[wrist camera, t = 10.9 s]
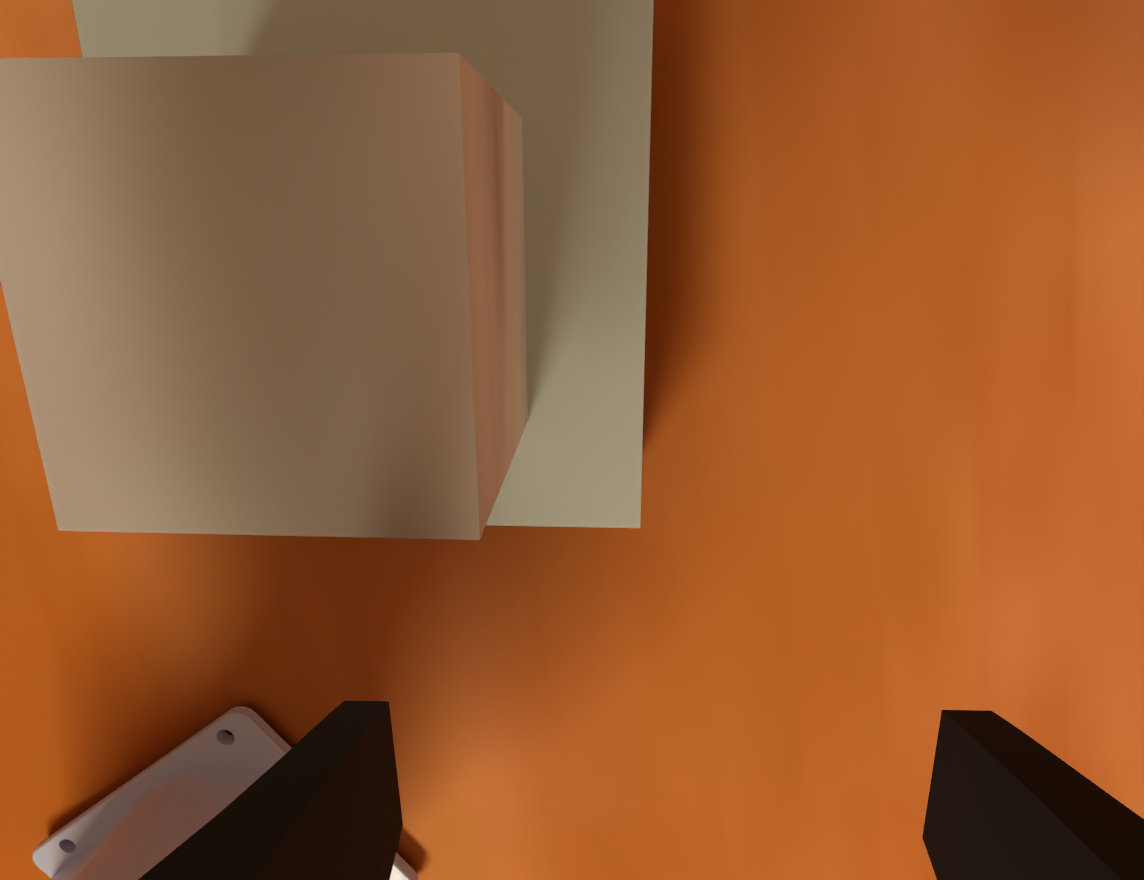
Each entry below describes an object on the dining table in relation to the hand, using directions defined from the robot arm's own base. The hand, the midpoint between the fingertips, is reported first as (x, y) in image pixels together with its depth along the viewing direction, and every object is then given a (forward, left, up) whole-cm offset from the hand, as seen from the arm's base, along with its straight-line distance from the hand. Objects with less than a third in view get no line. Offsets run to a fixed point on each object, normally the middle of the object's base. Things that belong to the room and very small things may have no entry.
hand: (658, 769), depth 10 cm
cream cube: (0, +8, -6) cm, 10 cm away
